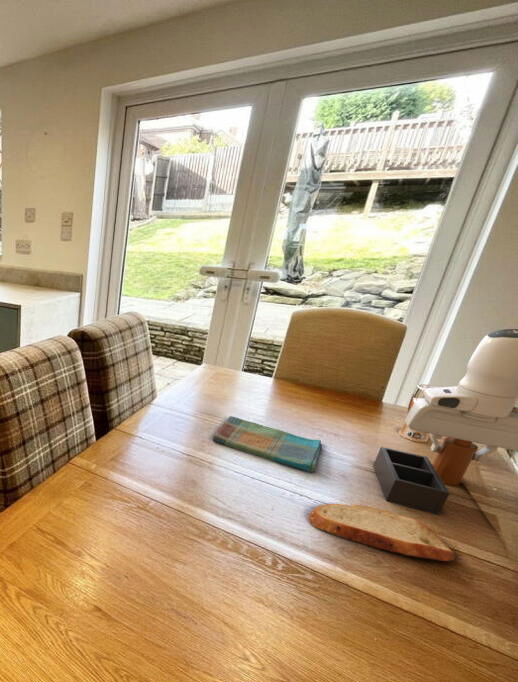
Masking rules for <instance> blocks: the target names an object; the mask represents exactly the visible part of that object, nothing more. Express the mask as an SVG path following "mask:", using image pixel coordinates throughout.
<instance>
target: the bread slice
mask: <svg viewBox="0 0 518 682" xmlns="http://www.w3.org/2000/svg"><path fill="white" fill-rule="evenodd" d="M307 519H308V522H309V523H310V524H311V526H313V527H314V528H317V529H318V530H321V531H325V532H327V533H329V534H331V535H334V536H337V537H339V538H343V539H346V540H349V541H351V542H356V543H360V544H363V545H368V546H370V547H373V548H376V549H379V550H386V551H388V552H389V553H397V554H400V555H402V556H408V557H414V558H417V559H428V560H433V561H438V562H439V561H440V562H450V561H453V560H454V559H455V552H454V551H453V550H452V548H450V547H449V546H448V545H447V544H446V542H444V541H443V540H442V538H441V537H439V536H438V535H437V533H436V532H434V530H432V529H431V528H430V527H428V526H427V525H426V524H424V523H423V522H421V521H419V520H418V519H415V518H412V517H409V516H405V515H402V514H399V513H396V512H392V511H390V510H387V509H382V508H378V507H371V506H368V505H362V504H341V503H327V504H320V505H318V506H315V508H314V509H312V511H311V512H310V513H309V514H308V518H307Z"/></svg>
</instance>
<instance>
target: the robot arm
mask: <svg viewBox="0 0 518 682" xmlns="http://www.w3.org/2000/svg"><path fill="white" fill-rule="evenodd" d="M423 395H424V397H425V398H421V399H419V400H417V401H416V402H415V403H414V405H413V406H412V408H411V409H410V411H409V413H408V414H407V413H406V416H405V419H404V424H405V423H406V425H407V426H408V427H409V428H410V429H411V430H415V431H420V432H425V433H429V437H430V439H431V441H432V444H431V446H430V450H431V452H434V453H437V454H438V453H442V450H443V449H444V447H443V446H442V444H443V443H439V440H442V437H445V438H447V437H450V438H455V439H460V440H465V441H470V442H472V443H474V444H481V445H483V446H484V447H482V448H480V449H479V450H477V451H476V453H475V455H474V457H473V458H472V460H471V461H475V462H480V463H481V462H483V460H484V458H485V457H486V456H489V455H491V454H493V453H495V452H496V451H497V450H498V448H499V449H500V448H501V449H505V450H510V451H516V452H518V407H516V406H515V405H516V403H518V328H506V329H505V328H504V329H498V330H494V331H491V332H489V333H488V334H486V335H485V336H484V337H483V338H482V339H481V341H480V342H479V343H478V345H477V346H476V348H475V350H474V352H473V353H472V355H471V357H470V359H469V361H468V362H467V365H466V373H465V375H464V376H463V378H461V379H460V381H459V382H458V384H457V385H453V386H441V387H440V386H437V388H427V389H425V390H424V393H423Z"/></svg>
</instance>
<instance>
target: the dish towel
mask: <svg viewBox="0 0 518 682" xmlns="http://www.w3.org/2000/svg"><path fill="white" fill-rule="evenodd" d="M212 441H213V442H215V443H218V444H221V445H224V446H227V447H230V448H232V449H237V450H239V451H243V452H246V453H250V454H253V455H256V456H258V457H262V458H265V459H268V460H270V461H273V462H277V463H280V464H283V465H287V466H289V467H292V468H296V469H300V470H302V471H305V472H308V473H309V472H313V473H314V472H315V470H316V468H317V467H316V466H317V462H318V460H319V456H320V453H321V452H322V450H323V444H322V440H321V439H312V438H306V437H303V436H299V435H296V434H293V433H289V432H286V431H283V430H281V429H277V428H274V427H271V426H267V425H262V424H260V423H256V422H254V421H249V420H246V419H241V418H239V417H237V416H233V415H231V416H228V418H227V419H226V421H225V422H224V423H223V424H222V425H221V427H220V428H219V430H217V432H216V433H215V434H213V438H212Z"/></svg>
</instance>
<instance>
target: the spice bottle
mask: <svg viewBox="0 0 518 682" xmlns="http://www.w3.org/2000/svg"><path fill="white" fill-rule="evenodd" d="M441 444H442V446H443V447H444V449H443V450H442V453H438V452H437V454H436V456H435V458H434V461H433V462H432V463H431V464H432V465H433V467H434V469H435V470H436V472H437V474H438V475H439V477H440V478H441V480H442V482H443V483H444V485H445V486H450V487H451V486H453V487H457V486H459V485H460V483H461V482H462V479H463V478H464V476H465V473H466V472H467V470H468V468H469V467H470V464H471V463H472V461H473V460H472V458H473V457H474V455H475V453H476V451H478V449H479V446H478V445H476V443H474V442H470V441H465V440H460V439H455V438H450V437H445V438H444V440H443V442H442V443H441Z"/></svg>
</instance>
